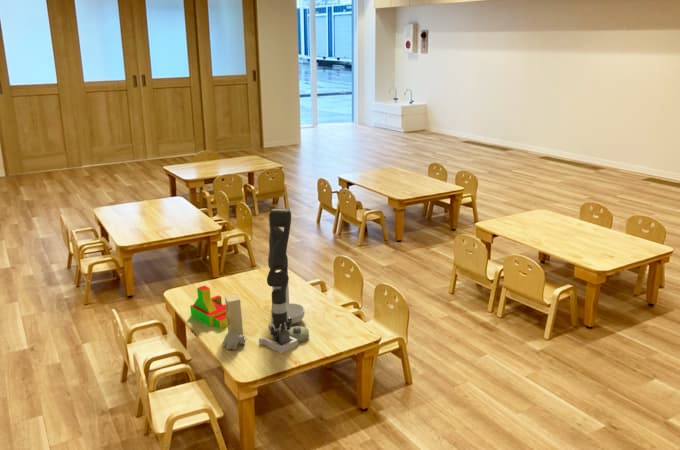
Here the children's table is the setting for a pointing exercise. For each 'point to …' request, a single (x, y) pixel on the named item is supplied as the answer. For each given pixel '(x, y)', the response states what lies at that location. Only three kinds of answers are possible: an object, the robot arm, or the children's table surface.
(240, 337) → the toy rhinoceros
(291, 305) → the cereal bowl
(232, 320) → the toy refrigerator
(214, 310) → the building blocks toy
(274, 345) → the grey bracket and lid
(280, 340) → the orange-panel grey block
